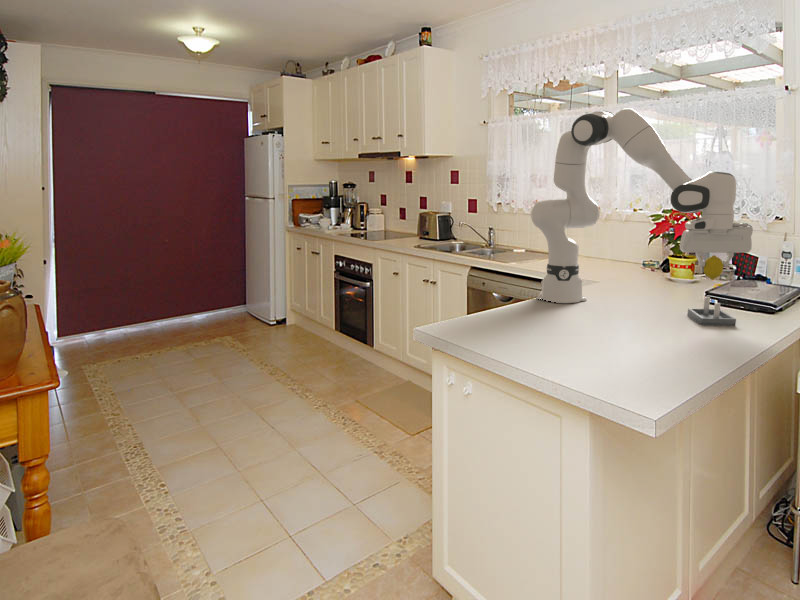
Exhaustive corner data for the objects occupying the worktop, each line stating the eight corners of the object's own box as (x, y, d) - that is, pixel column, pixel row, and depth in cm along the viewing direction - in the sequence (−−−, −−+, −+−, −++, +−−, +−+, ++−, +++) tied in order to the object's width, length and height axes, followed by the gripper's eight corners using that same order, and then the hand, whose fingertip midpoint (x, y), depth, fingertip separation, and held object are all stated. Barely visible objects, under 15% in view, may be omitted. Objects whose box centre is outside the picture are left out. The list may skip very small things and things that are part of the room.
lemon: (705, 280, 177) (707, 256, 176) (700, 278, 182) (702, 254, 181) (724, 281, 176) (726, 256, 174) (718, 278, 181) (720, 254, 180)
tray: (687, 315, 189) (689, 295, 188) (719, 316, 188) (721, 296, 186) (700, 325, 176) (702, 304, 175) (735, 326, 174) (737, 305, 173)
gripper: (749, 222, 176) (745, 265, 179) (680, 223, 181) (676, 265, 183) (757, 223, 170) (753, 268, 173) (685, 224, 175) (682, 267, 177)
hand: (713, 266), depth 178 cm, fingers closed on lemon, 5 cm apart
